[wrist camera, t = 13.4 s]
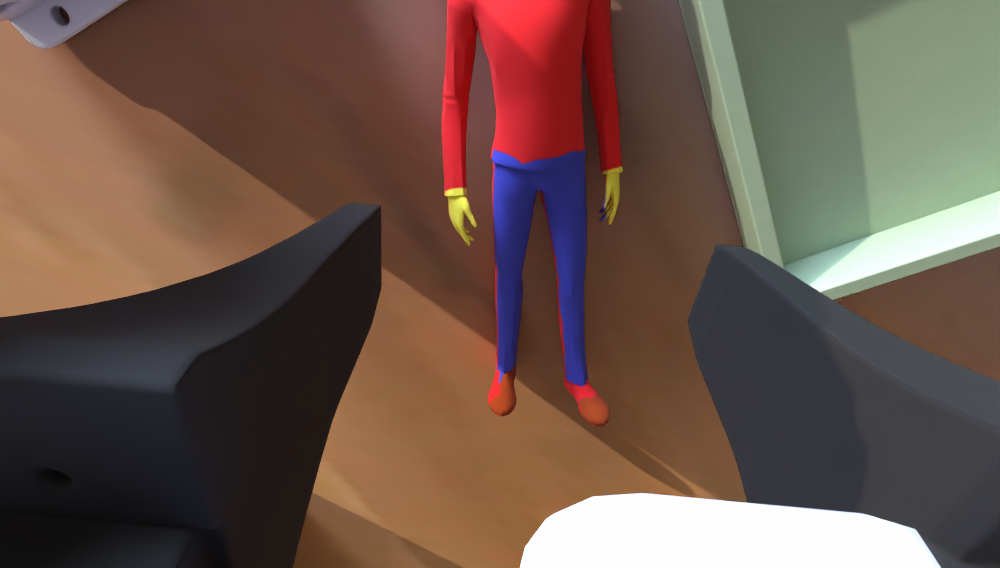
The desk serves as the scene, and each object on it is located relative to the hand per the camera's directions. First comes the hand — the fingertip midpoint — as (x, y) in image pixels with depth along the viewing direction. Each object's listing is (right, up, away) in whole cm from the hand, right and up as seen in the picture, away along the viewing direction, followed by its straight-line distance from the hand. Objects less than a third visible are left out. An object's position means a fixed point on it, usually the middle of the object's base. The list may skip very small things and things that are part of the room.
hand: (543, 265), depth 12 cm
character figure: (0, +4, +7) cm, 8 cm away
